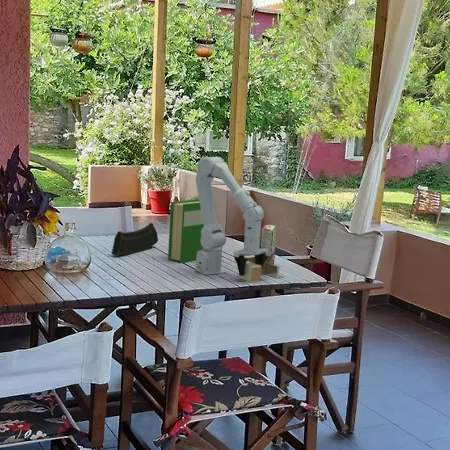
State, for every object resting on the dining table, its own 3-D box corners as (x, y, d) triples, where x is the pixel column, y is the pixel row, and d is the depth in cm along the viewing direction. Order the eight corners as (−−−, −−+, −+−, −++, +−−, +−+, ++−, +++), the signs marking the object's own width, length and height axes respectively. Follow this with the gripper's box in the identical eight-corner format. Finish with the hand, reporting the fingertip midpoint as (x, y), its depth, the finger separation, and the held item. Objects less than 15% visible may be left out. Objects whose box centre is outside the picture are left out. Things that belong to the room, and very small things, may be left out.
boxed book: (251, 282, 251) (252, 266, 250) (238, 277, 257) (239, 262, 256) (260, 281, 253) (261, 265, 252) (247, 276, 259) (248, 261, 258)
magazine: (115, 237, 274) (154, 208, 298) (108, 236, 275) (148, 208, 299) (120, 274, 281) (159, 244, 305) (114, 273, 282) (152, 243, 306)
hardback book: (181, 263, 275) (184, 204, 271) (167, 260, 279) (170, 202, 275) (208, 257, 289) (212, 201, 285) (195, 254, 293) (198, 199, 289)
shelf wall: (240, 276, 258) (241, 258, 257) (238, 276, 259) (239, 258, 258) (269, 273, 266) (270, 256, 265) (267, 273, 267) (268, 255, 266)
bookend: (276, 278, 259) (277, 266, 259) (265, 274, 265) (265, 262, 264) (284, 277, 262) (285, 265, 261) (273, 273, 267) (273, 262, 266)
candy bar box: (262, 263, 284) (265, 224, 282) (274, 264, 283) (277, 225, 281) (258, 268, 274) (261, 228, 271) (270, 270, 273) (273, 229, 270)
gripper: (242, 241, 245) (240, 278, 247) (274, 239, 253) (271, 275, 256) (231, 238, 251) (229, 274, 253) (262, 236, 259) (260, 271, 261)
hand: (249, 274), depth 255 cm, fingers open, 7 cm apart
